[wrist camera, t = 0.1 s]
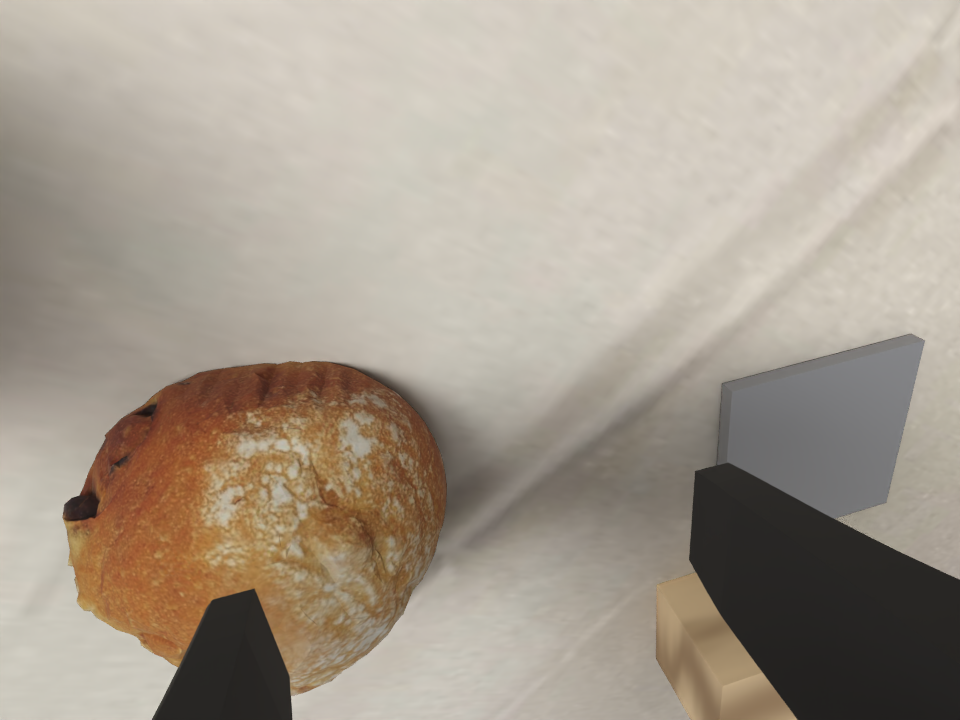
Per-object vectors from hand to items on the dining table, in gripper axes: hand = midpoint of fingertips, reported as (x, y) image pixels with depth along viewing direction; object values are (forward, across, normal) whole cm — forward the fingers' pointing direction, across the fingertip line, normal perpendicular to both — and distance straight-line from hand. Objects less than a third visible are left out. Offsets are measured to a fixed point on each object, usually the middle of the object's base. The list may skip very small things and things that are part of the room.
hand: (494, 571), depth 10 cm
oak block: (+10, -11, +17) cm, 23 cm away
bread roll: (+10, +5, +5) cm, 13 cm away
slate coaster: (+10, -15, +9) cm, 20 cm away
